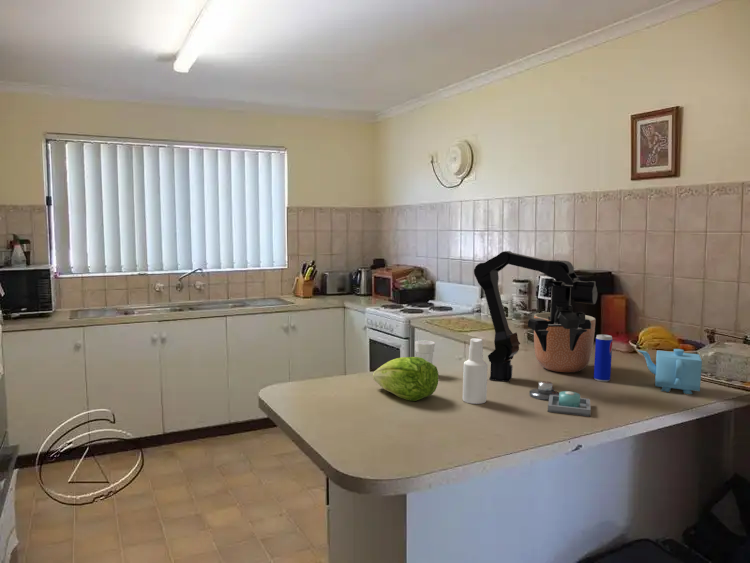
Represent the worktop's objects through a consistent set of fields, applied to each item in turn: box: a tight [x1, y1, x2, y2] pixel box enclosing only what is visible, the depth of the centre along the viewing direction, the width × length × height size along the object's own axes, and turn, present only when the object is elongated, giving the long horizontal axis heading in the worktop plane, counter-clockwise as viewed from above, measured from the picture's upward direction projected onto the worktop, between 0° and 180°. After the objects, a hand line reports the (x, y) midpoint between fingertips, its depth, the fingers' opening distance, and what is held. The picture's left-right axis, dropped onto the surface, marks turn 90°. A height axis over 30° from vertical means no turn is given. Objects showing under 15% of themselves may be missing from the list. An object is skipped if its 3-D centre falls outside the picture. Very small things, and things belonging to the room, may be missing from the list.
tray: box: [547, 395, 592, 418], centre depth 164 cm, size 11×11×2 cm
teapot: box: [637, 348, 703, 395], centre depth 186 cm, size 18×16×13 cm
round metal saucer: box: [528, 380, 560, 401], centre depth 176 cm, size 9×9×4 cm
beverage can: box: [593, 334, 613, 383], centre depth 195 cm, size 5×5×15 cm
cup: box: [414, 340, 436, 364], centre depth 199 cm, size 7×7×11 cm
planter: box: [533, 311, 596, 374], centre depth 209 cm, size 21×21×19 cm
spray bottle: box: [462, 337, 489, 405], centre depth 169 cm, size 7×7×18 cm
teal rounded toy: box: [559, 390, 581, 408], centre depth 163 cm, size 7×6×4 cm
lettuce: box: [372, 356, 439, 402], centre depth 174 cm, size 13×22×14 cm
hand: (558, 350), depth 183 cm, fingers open, 9 cm apart
